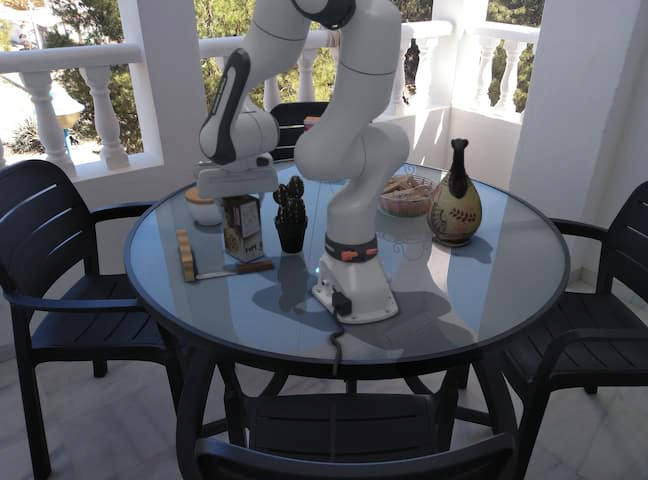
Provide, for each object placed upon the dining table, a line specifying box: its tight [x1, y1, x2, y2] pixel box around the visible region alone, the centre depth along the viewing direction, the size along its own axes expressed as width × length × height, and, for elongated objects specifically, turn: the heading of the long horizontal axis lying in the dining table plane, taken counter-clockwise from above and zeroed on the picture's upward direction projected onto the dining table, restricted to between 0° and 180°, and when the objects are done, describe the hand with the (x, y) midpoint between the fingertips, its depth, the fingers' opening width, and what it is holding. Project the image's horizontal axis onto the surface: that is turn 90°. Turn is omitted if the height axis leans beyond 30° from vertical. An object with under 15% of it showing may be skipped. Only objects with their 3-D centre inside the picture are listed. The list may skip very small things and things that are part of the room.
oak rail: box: [176, 228, 196, 282], centre depth 137 cm, size 18×2×6 cm, turn 19°
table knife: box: [195, 259, 274, 281], centre depth 134 cm, size 2×19×2 cm, turn 109°
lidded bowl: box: [184, 186, 222, 227], centre depth 159 cm, size 13×13×11 cm
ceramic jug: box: [425, 137, 483, 248], centre depth 145 cm, size 17×15×30 cm
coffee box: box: [219, 194, 264, 263], centre depth 140 cm, size 9×6×16 cm
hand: (240, 210), depth 138 cm, fingers open, 8 cm apart
